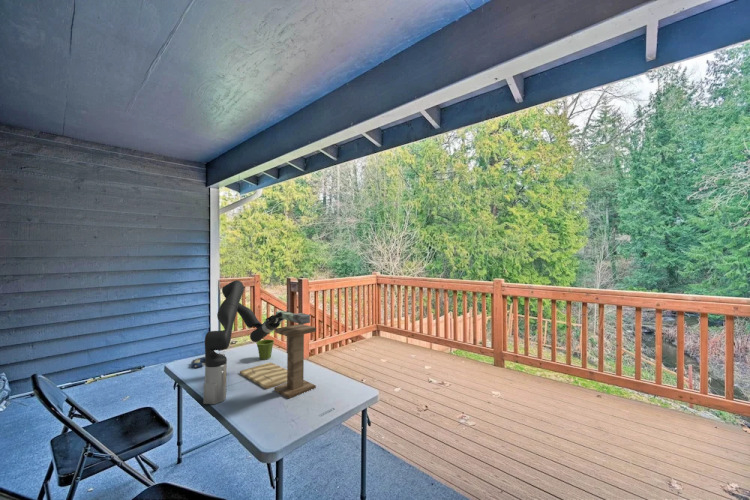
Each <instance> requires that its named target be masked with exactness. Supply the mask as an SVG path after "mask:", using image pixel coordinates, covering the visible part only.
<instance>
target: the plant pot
mask: <svg viewBox="0 0 750 500" xmlns="http://www.w3.org/2000/svg"><path fill="white" fill-rule="evenodd" d="M274 343H275V340H274V339H261V340H260V341H258V342H255V344H256V347H257V351H258V355H259V360H261V361H262V360H263V361H265V360H269V359H271V358H272V352H273V347H274Z"/></svg>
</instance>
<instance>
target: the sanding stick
mask: <svg viewBox="0 0 750 500" xmlns="http://www.w3.org/2000/svg"><path fill="white" fill-rule="evenodd" d="M279 312H282V316H281V317H280V318H281V319H285V320H284V321H289V322H293V323H297V324H304V325H307V324H311V315H310V314H307V313H303V312H299V313H293V312H290V311H289V312H286V311H285V310H280V311H275V315H276V314H278V313H279Z"/></svg>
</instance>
